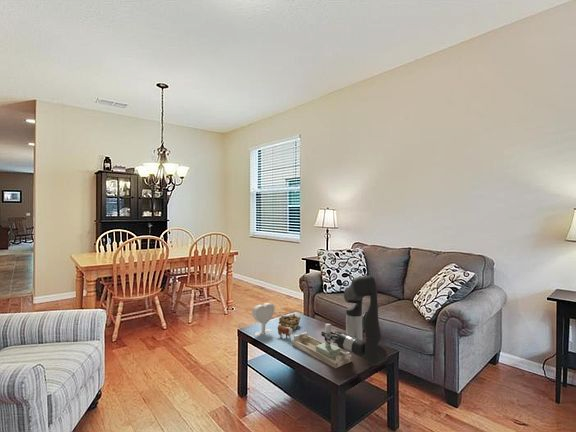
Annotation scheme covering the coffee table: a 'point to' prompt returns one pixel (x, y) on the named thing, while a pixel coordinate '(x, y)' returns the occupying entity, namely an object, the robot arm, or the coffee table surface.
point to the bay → (309, 346)
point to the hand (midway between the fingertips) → (324, 332)
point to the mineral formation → (289, 321)
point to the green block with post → (328, 346)
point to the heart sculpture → (263, 315)
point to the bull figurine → (284, 331)
